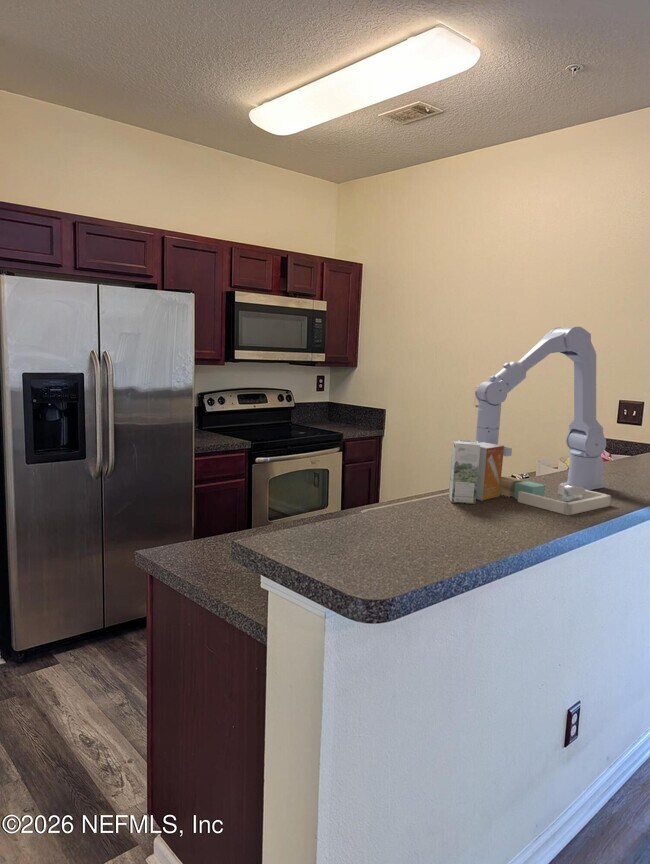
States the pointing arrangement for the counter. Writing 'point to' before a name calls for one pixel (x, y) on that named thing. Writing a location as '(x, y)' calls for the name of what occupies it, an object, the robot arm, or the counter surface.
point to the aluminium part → (572, 492)
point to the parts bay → (588, 503)
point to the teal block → (529, 488)
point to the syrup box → (464, 471)
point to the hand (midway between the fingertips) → (483, 478)
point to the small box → (489, 471)
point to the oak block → (508, 485)
